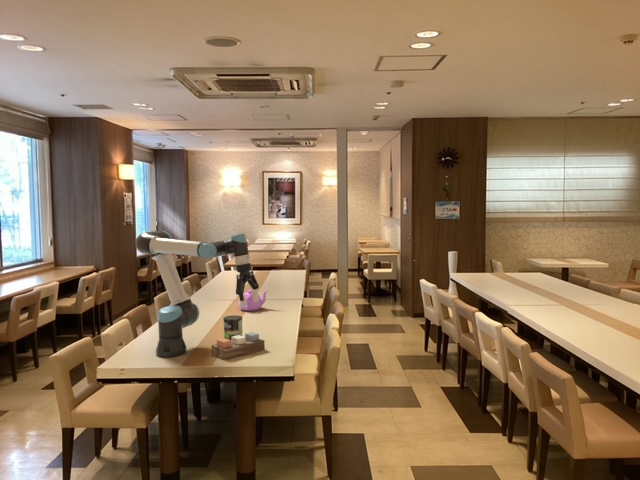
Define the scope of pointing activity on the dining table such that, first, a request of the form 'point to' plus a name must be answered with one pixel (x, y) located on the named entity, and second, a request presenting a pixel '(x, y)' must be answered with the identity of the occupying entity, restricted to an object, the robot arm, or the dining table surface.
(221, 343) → the terracotta key
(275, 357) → the dining table surface
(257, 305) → the teapot
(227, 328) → the coffee can
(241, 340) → the ivory key
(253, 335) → the slate key
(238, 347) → the key console
